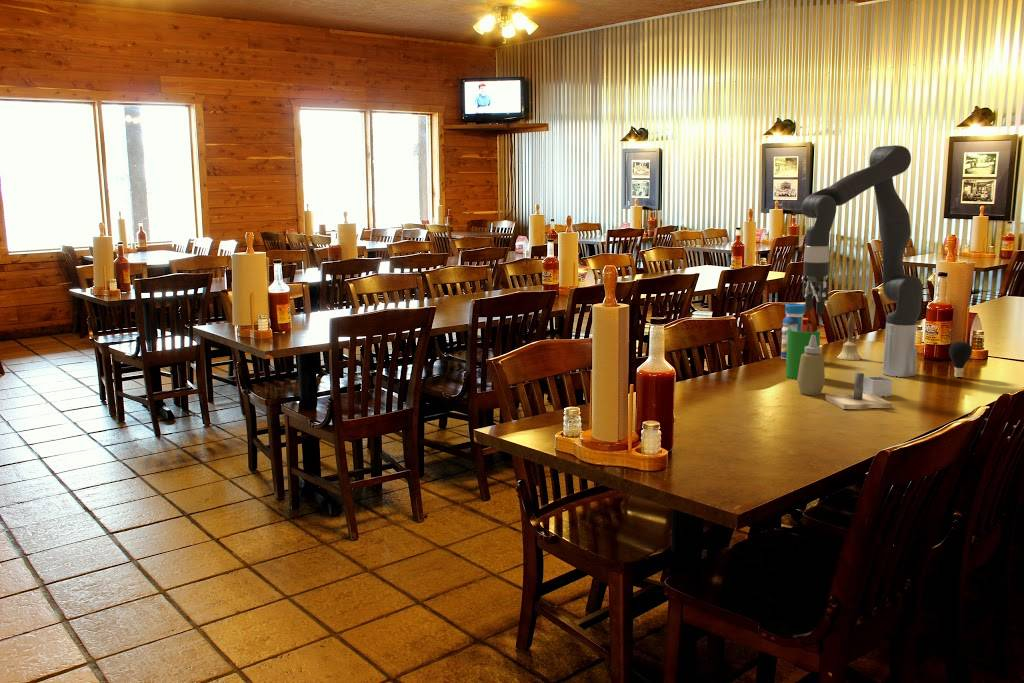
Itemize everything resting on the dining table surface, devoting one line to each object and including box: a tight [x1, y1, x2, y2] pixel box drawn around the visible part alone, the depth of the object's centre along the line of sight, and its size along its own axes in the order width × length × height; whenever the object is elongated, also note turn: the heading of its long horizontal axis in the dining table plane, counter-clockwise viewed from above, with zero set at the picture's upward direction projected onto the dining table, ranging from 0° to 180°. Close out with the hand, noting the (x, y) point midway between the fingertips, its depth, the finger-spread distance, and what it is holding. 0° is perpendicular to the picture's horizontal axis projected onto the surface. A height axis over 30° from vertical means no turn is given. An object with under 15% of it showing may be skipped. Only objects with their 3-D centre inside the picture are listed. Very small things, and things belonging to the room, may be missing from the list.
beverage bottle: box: [780, 302, 806, 360], centre depth 319 cm, size 8×8×20 cm
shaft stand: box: [824, 372, 893, 410], centre depth 256 cm, size 14×12×9 cm
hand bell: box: [836, 314, 862, 361], centre depth 321 cm, size 8×8×16 cm
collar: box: [863, 375, 893, 398], centre depth 267 cm, size 6×6×5 cm
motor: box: [785, 317, 821, 380], centre depth 290 cm, size 10×9×20 cm
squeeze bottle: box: [796, 335, 826, 396], centre depth 268 cm, size 8×8×18 cm
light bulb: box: [948, 340, 973, 378], centre depth 289 cm, size 7×7×12 cm
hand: (814, 312), depth 277 cm, fingers open, 8 cm apart
